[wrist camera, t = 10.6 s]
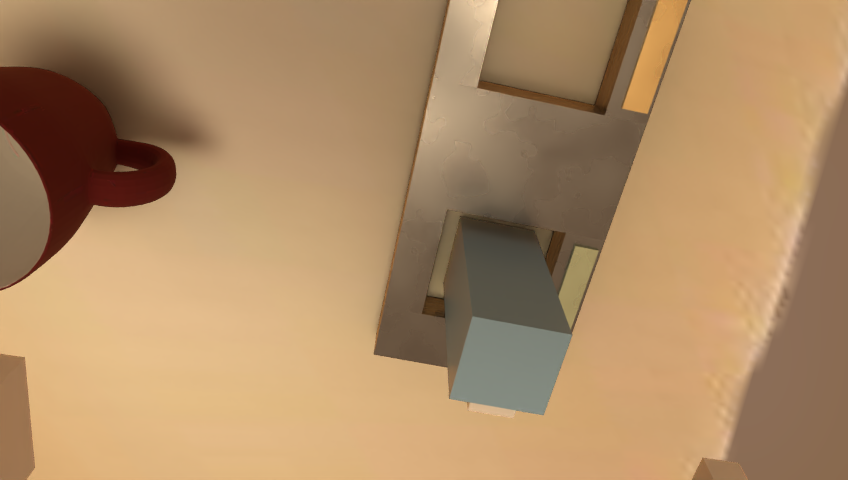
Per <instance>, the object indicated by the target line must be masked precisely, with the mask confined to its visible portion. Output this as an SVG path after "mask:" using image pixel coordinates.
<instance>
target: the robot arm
mask: <svg viewBox="0 0 848 480" xmlns="http://www.w3.org/2000/svg"><path fill="white" fill-rule="evenodd" d="M34 468H35V462H34V452H33V441H32V430H31V420H30V409H29V398H28V387H27V377H26V366H25V357H18V356H11V355H5V354H0V480H27V478H28V477H29V475H30V474H31V472H32V471H33V470H34ZM692 480H748V478H747V476H746V475H745V473H744V471H743V469H742V468H741V466H740V464H739V463H735V462H728V461H722V460H715V459H708V458H702V460H701V462H700V464H699V466H698V468H697V470H696V472H695V474H694V476H693V478H692Z"/></svg>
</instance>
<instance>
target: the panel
mask: <svg viewBox="0 0 848 480" xmlns="http://www.w3.org/2000/svg"><path fill="white" fill-rule="evenodd" d="M690 1H691V0H628V3H627V6H626V9H625V12H624V16H623V19H622V22H621V25H620V28H619V31H618V34H617V37H616V41H615V44H614V47H613V50H612V53H611V56H610V59H609V62H608V65H607V69H606V72H605V75H604V78H603V81H602V84H601V87H600V90H599V94H598V97H597V100H596V103H595V105H591V104H587V103H582V102H577V101H573V100H568V99H563V98H559V97H554V96H550V95H545V94H540V93H536V92H531V91H526V90H522V89H517V88H513V87H508V86H503V85H499V84H494V83H489V82H485V81H480V80H479V77H480V73H481V69H482V65H483V61H484V57H485V53H486V49H487V45H488V41H489V37H490V32H491V28H492V24H493V20H494V16H495V12H496V8H497V4H498V0H448V2H447V7H446V12H445V16H444V21H443V26H442V30H441V35H440V40H439V44H438V49H437V54H436V58H435V63H434V68H433V72H432V77H431V81H430V86H429V91H428V95H427V100H426V105H425V109H424V114H423V119H422V123H421V128H420V133H419V137H418V142H417V147H416V151H415V156H414V161H413V165H412V170H411V175H410V179H409V184H408V189H407V193H406V198H405V203H404V207H403V212H402V217H401V221H400V226H399V231H398V235H397V240H396V245H395V249H394V254H393V259H392V263H391V268H390V273H389V277H388V282H387V287H386V291H385V296H384V301H383V305H382V310H381V315H380V319H379V324H378V329H377V333H376V341H375V349H374V355H380V356H386V357H391V358H397V359H403V360H408V361H414V362H419V363H425V364H431V365H436V366H442V367H447V368H448V364H447V344H446V324H445V304H444V299H440V298H435V297H429V296H426V294H427V290H428V286H429V282H430V278H431V274H432V270H433V266H434V262H435V258H436V254H437V249H438V245H439V241H440V237H441V233H442V229H443V225H444V221H445V217H446V213H447V210H452V211H457V212H462V213H467V214H472V215H477V216H483V217H488V218H493V219H498V220H503V221H508V222H513V223H518V224H523V225H528V226H533V227H538V228H543V229H548V230H553V231H554V234H553V237H552V240H551V243H550V246H549V249H548V252H547V256H546V259H545V261H546V264H547V267H548V269H549V272H550V275H551V278H552V280H553V283H554V286H555V288H556V291H557V294H558V297H559V299H560V302H561V305H562V308H563V310H564V313H565V316H566V319H567V321H568V324H569V327H570V330H571V332H572V331H573V329H574V326H575V323H576V320H577V317H578V315H579V312H580V309H581V306H582V303H583V301H584V298H585V295H586V292H587V289H588V287H589V284H590V281H591V278H592V275H593V273H594V270H595V267H596V264H597V261H598V259H599V256H600V253H601V250H602V247H603V245H604V242H605V239H606V236H607V233H608V231H609V228H610V225H611V222H612V220H613V217H614V214H615V211H616V208H617V206H618V203H619V200H620V197H621V194H622V192H623V189H624V186H625V183H626V180H627V178H628V175H629V172H630V169H631V166H632V164H633V161H634V158H635V155H636V152H637V150H638V147H639V144H640V141H641V138H642V136H643V133H644V130H645V127H646V124H647V122H648V119H649V116H650V113H651V110H652V108H653V105H654V102H655V99H656V96H657V94H658V91H659V88H660V85H661V82H662V80H663V77H664V74H665V71H666V69H667V66H668V63H669V60H670V57H671V55H672V52H673V49H674V46H675V43H676V41H677V38H678V35H679V32H680V29H681V27H682V24H683V21H684V18H685V15H686V13H687V10H688V7H689V4H690Z"/></svg>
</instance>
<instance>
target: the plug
mask: <svg viewBox="0 0 848 480" xmlns="http://www.w3.org/2000/svg"><path fill="white" fill-rule="evenodd" d="M443 284H444V304H445V324H446V344H447V364H448V384H449V399H453V400H459V401H464V402H467V407H468V411H474V412H480V413H486V414H491V415H497V416H503V417H509V418H514V416H515V413H516V411H522V412H528V413H533V414H539V415H544V413H545V410H546V407H547V404H548V402H549V399H550V396H551V393H552V390H553V388H554V385H555V382H556V379H557V376H558V374H559V371H560V368H561V365H562V362H563V360H564V357H565V354H566V351H567V349H568V346H569V343H570V340H571V337H572V332H571V330H570V327H569V324H568V321H567V319H566V316H565V313H564V310H563V308H562V305H561V302H560V299H559V297H558V294H557V291H556V288H555V286H554V283H553V280H552V278H551V275H550V272H549V269H548V267H547V264H546V261H545V258H544V256H543V253H542V250H541V247H540V245H539V242H538V239H537V236H536V234H535V231H532V230H527V229H522V228H517V227H512V226H507V225H502V224H497V223H492V222H487V221H482V220H477V219H472V218H467V217H462V216H460V219H459V223H458V227H457V231H456V235H455V239H454V243H453V247H452V251H451V255H450V259H449V263H448V267H447V271H446V275H445V278H444V282H443Z"/></svg>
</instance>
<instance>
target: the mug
mask: <svg viewBox="0 0 848 480" xmlns="http://www.w3.org/2000/svg"><path fill="white" fill-rule="evenodd" d="M118 164H119V165H124V166H128V167H132V168H135V169H138V170H137V171H129V172H114V170H115V168H116V166H117V165H118ZM175 179H176V165H175V162H174V160H173V158H172V156H171V155H170V154H169V153H168V152H166V151H165V150H163V149H162V148H159V147H157V146H154V145H150V144H146V143H141V142H135V141H128V140H122V139H118V138H117V135H116V132H115V129H114V126H113V123H112V120H111V118H110V115H109V113H108V111H107V109H106V108H105V106H104V105H103V104H102V102H101V101H100V100H99V99H98V98H97V97H96V96H95V95H93V94H92V93H91V92H90V91H89V90H87V89H86V88H85V87H83V86H82V85H80V84H79V83H77V82H75V81H74V80H72V79H70V78H68V77H66V76H63V75H61V74H58V73H56V72H52V71H49V70H44V69H40V68H33V67H0V291H1V290H4V289H6V288H9V287H11V286H13V285H15V284H17V283H19V282H20V281H22V280H23V279H25V278H26V277H28V276H29V275H30V274H32V273H33V272H34V271H35V270H37V269H38V268H39V267H41V266H42V265H43V264H44V263H45V262H47V261H48V260H49V259H50V258H51V257H52V256H54V255H55V254H56V253H57V252H58V251H59V250H60V249H61V248H62V247H63V246H64V245H65V244H66V243H67V242H68V241H69V240H70V239H71V238H72V236H73V235H74V234H75V233H76V231H77V230H78V228H79V227H80V226H81V224H82V223H83V221H84V220H85V218H86V216H87V215H88V213H89V212H90V210H91V209H92V207H93V205H98V206H105V207H130V206H137V205H143V204H146V203H150V202H153V201H155V200H158V199H160V198H161V197H163V196H164V195H166V194H167V193H168V192H169V191H170V190H171V189H172V187H173V185H174V183H175Z"/></svg>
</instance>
